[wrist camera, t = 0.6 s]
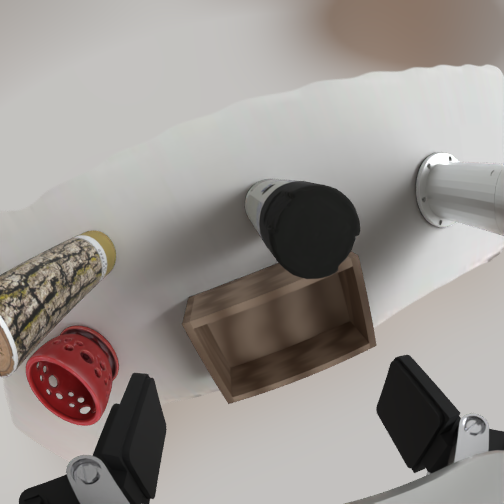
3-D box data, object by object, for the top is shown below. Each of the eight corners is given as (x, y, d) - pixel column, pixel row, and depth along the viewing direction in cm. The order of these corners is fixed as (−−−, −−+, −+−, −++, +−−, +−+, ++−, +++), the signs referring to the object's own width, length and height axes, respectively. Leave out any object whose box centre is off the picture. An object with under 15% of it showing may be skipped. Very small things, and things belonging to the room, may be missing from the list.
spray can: (303, 194, 38) (378, 213, 19) (278, 238, 39) (330, 296, 20) (259, 169, 37) (301, 161, 17) (234, 214, 38) (248, 254, 19)
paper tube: (112, 225, 36) (-9, 293, 12) (122, 272, 38) (28, 381, 14) (72, 233, 36) (-52, 298, 12) (83, 277, 38) (-20, 373, 14)
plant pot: (91, 305, 39) (56, 344, 27) (138, 369, 42) (120, 419, 31) (44, 332, 39) (10, 369, 28) (87, 388, 43) (65, 432, 31)
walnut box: (333, 240, 40) (358, 255, 32) (354, 320, 44) (376, 345, 36) (188, 297, 40) (182, 324, 32) (226, 370, 44) (228, 403, 36)
